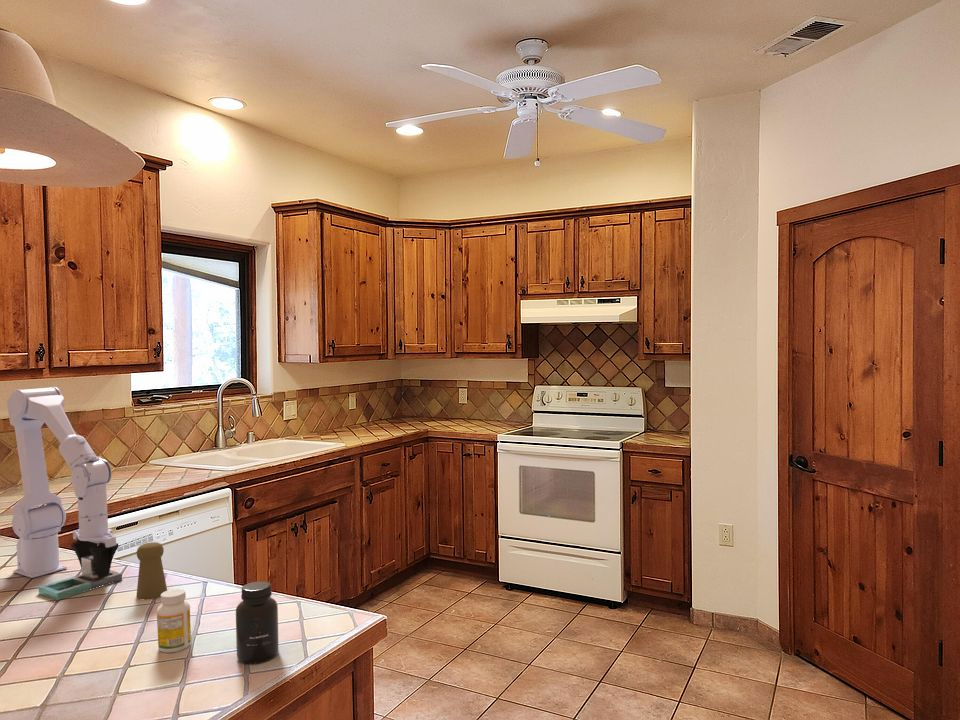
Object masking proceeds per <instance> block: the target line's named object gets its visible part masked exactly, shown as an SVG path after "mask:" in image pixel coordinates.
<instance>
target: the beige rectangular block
mask: <svg viewBox="0 0 960 720" xmlns="http://www.w3.org/2000/svg"><path fill="white" fill-rule="evenodd" d="M81 561H82V568H81V574H82V579H84V580H87V581H93V580H96V579H100V578H99V577H98V575H97V571H96V565H95V561H94V558H93V555H89V556H85V557H81ZM107 576H109V575H107ZM104 577H106V576H104ZM101 578H103V577H101Z"/></svg>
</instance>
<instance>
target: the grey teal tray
mask: <svg viewBox="0 0 960 720" xmlns="http://www.w3.org/2000/svg"><path fill="white" fill-rule="evenodd" d="M119 580H121V581H123V573H121V572H118V571H115V570H111V569H110V572H109V576H106V577H103V578H100V579H96V580H93V581H87V580H84V579H82V573H81V574H78V575H74V576H71V577H68V578H65V579H60V580H58V581H54V582H50V583H47V584H43V585H41V586H38V594H39V595H41V596H43V597H47V598H50V599H52V600H56V601H61V600H63V598H64V599H66V597H67V598H70V597H73V596H75V594H76V595H79V594H82V592H83V593H85V592H84V591H86V592H88V591H87V590H89V591H91V590H90V589H92V590H94V589H93V588H95V589H97V588H96V587H98V588H100V587H99V586H102V585H105V586H106V584H108V585H110V584H109V583H111V584H113V583H112V582H114V583H117V582H120V581H119ZM116 581H117V582H116ZM71 585H72V586H71ZM73 585H74V586H73ZM68 586H69V587H68ZM65 587H66V588H65ZM102 587H103V586H102ZM78 593H79V594H78ZM72 595H73V596H72ZM69 596H70V597H69Z"/></svg>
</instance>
